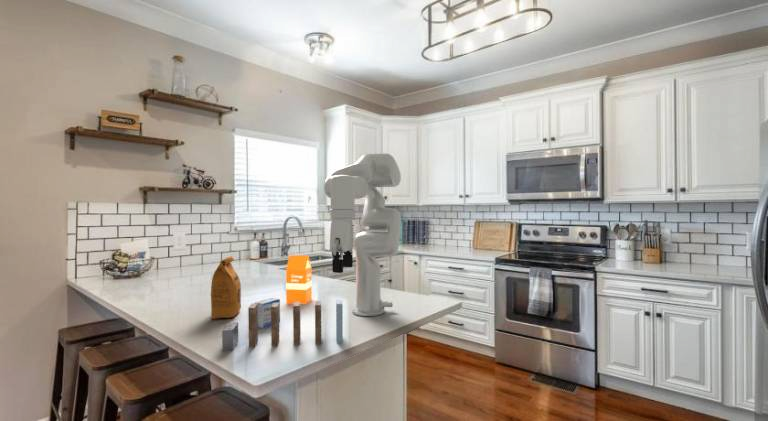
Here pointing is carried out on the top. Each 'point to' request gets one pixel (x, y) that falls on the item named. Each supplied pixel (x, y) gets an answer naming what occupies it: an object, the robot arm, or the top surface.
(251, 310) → the domino
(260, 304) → the medicine box
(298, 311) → the domino
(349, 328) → the top surface
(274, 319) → the domino
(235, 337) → the block
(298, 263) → the orange juice
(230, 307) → the coffee package
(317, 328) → the domino
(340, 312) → the domino
